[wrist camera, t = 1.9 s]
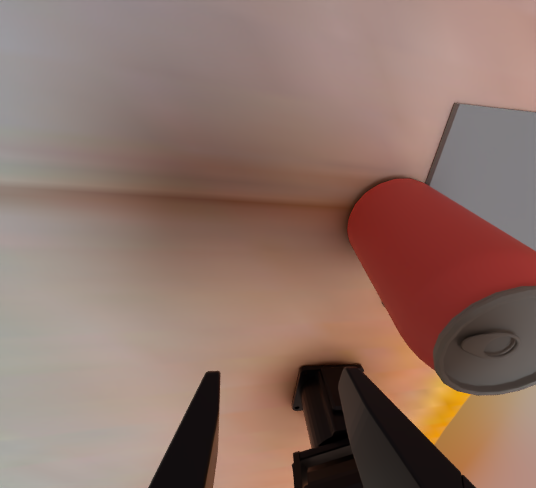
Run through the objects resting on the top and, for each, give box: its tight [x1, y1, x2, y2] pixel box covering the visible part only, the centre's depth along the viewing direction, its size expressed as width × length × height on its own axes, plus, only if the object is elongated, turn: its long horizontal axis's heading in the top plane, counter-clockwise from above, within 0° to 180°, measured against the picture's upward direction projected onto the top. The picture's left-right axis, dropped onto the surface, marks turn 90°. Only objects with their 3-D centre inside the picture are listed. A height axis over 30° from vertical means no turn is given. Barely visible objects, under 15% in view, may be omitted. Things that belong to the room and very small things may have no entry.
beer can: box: [347, 179, 536, 395], centre depth 16 cm, size 7×7×12 cm
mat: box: [382, 103, 536, 307], centre depth 23 cm, size 16×14×1 cm
